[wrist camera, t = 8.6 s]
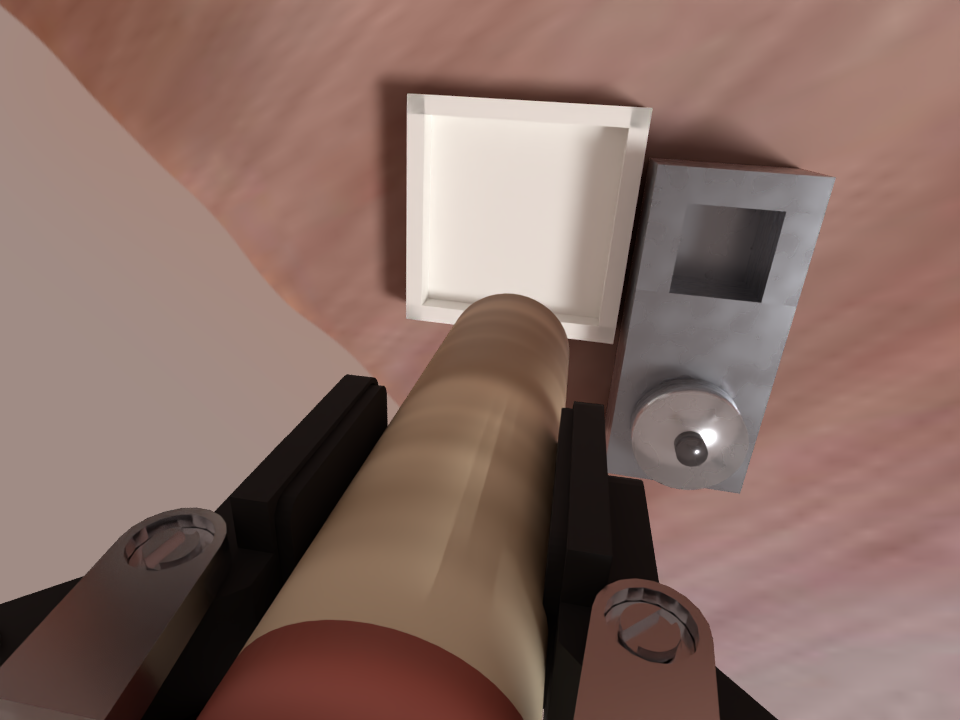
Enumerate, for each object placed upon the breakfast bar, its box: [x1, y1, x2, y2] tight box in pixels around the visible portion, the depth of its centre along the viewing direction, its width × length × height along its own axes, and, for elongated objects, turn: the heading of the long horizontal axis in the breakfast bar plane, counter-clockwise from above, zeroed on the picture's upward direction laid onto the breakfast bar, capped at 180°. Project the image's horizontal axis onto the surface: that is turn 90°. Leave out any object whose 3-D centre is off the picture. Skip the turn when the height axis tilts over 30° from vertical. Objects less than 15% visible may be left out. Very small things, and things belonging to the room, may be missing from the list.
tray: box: [406, 93, 653, 344], centre depth 33 cm, size 13×13×2 cm
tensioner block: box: [605, 158, 836, 494], centre depth 31 cm, size 18×8×8 cm, turn 176°
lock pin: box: [196, 293, 569, 720], centre depth 10 cm, size 3×3×12 cm
